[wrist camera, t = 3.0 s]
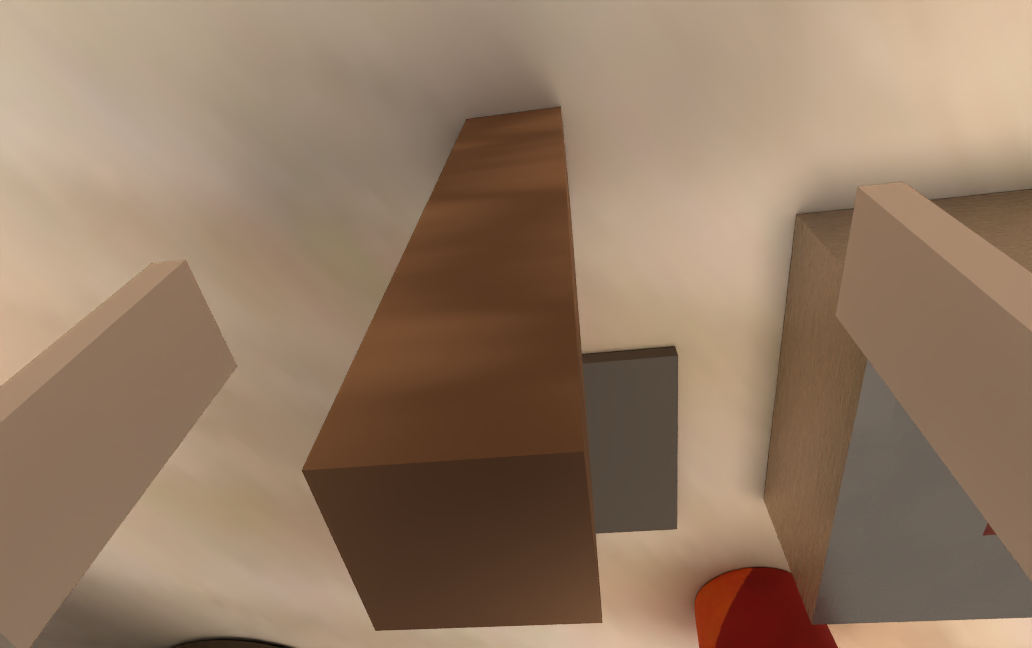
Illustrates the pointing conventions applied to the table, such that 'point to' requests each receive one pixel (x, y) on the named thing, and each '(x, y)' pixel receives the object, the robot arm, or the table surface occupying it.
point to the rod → (471, 405)
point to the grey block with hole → (877, 457)
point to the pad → (633, 438)
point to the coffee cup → (756, 612)
